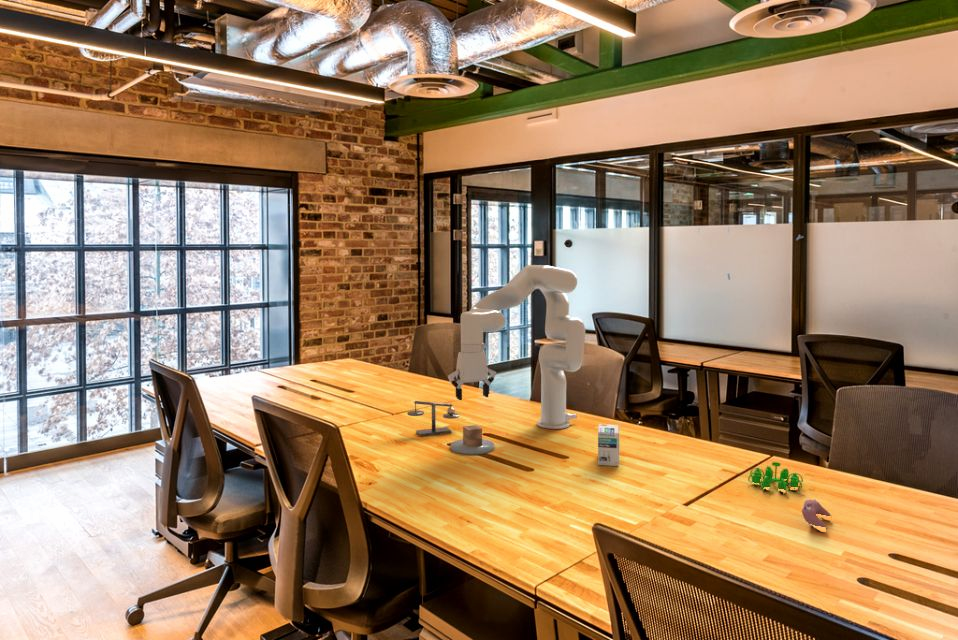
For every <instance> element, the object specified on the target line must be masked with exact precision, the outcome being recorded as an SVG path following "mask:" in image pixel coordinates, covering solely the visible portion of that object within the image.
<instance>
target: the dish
mask: <svg viewBox="0 0 958 640" xmlns="http://www.w3.org/2000/svg"><path fill="white" fill-rule="evenodd" d="M494 450H495V443H494V442H493V441H491V440H488V439H485V438H482V446H476V447H467V446H466V445H464V444H463V438H461V439H457V440H453V441H452V442H451V443H450V451H452V452H454V453H456V454H460V455H467V456H474V455H475V456H477V455H484V454H488V453H491V452H493V451H494Z"/></svg>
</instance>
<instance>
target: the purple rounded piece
mask: <svg viewBox="0 0 958 640" xmlns="http://www.w3.org/2000/svg"><path fill="white" fill-rule="evenodd" d="M801 514H802V516H803V519H804V520H805V522H806V523H807V522H808V523H807V524H808V525H810V524H812V525H815V526H821V527H827V526H826V524H825V523H824V522H823V521H822V519H821V518H819V517H818V516H816V514H821V515H826V516H831V517H832V515H831V513H830V512H829V511H828V510H826V508H824V507H823V505H821V504H820V502H819V501H817V500H816V499H812V498H811V499H807V500H805V501H804V503H803V508H801Z"/></svg>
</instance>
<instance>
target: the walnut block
mask: <svg viewBox="0 0 958 640" xmlns="http://www.w3.org/2000/svg"><path fill="white" fill-rule="evenodd" d="M462 439H463V444H464V445H466V446H467V447H476V446H482V439H483V428H482V427H480V426H479V425H477V424H474V425H464V426H462Z"/></svg>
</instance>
